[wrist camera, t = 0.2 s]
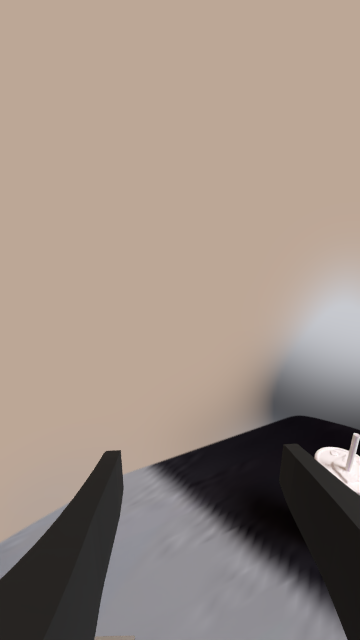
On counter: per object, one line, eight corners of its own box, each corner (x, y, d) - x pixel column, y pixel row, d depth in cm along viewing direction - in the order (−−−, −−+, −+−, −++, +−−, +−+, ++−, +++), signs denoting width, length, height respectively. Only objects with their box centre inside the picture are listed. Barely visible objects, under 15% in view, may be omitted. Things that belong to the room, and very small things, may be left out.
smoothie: (295, 543, 29) (317, 435, 25) (305, 501, 34) (325, 407, 31) (364, 586, 25) (401, 466, 22) (364, 532, 30) (393, 429, 27)
